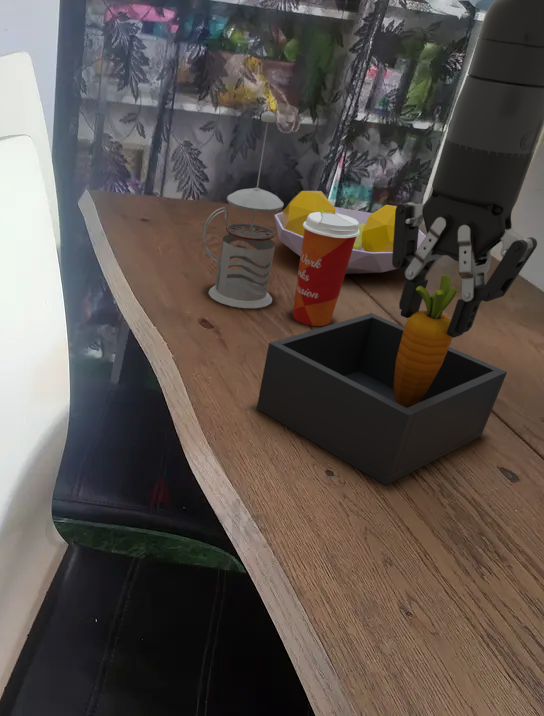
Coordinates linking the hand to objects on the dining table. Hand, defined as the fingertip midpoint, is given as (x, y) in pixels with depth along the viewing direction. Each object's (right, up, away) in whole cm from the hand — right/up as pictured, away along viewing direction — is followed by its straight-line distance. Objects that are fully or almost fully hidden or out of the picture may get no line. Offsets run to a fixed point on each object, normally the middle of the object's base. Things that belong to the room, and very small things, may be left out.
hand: (431, 324), depth 74 cm
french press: (-16, +14, +38) cm, 43 cm away
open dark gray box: (-4, -9, +9) cm, 13 cm away
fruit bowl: (+4, +25, +55) cm, 61 cm away
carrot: (-1, -9, +6) cm, 11 cm away
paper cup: (-5, +9, +33) cm, 34 cm away
